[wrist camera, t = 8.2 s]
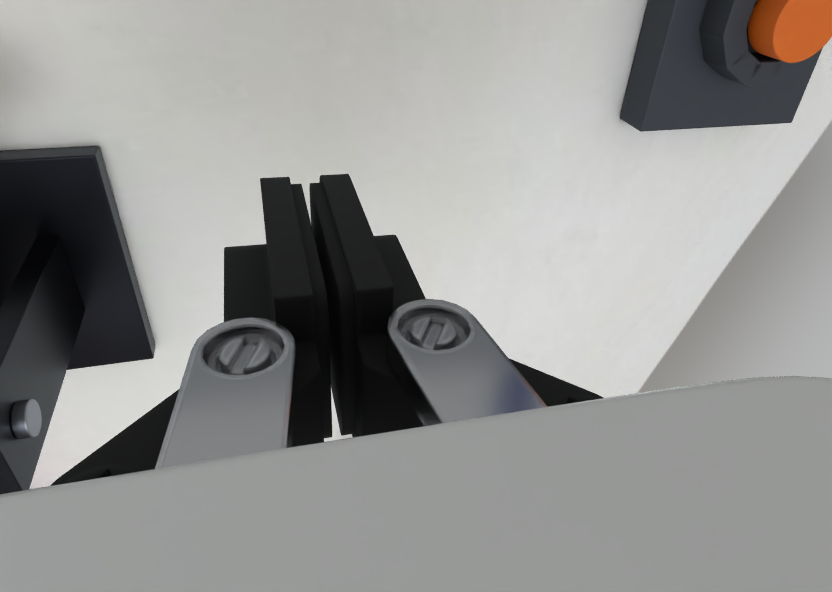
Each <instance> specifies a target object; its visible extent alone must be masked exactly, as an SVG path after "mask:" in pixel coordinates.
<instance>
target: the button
mask: <svg viewBox="0 0 832 592" xmlns="http://www.w3.org/2000/svg"><path fill="white" fill-rule="evenodd" d="M831 37H832V0H758V1H757V2H756V4H755V6H754V8H753V11H752V14H751V16H750V19H749V23H748V40H749V42H750V45H751V46H752V48H753V49H754V50H755V51H756V52H758V53H760V54H763V55H766V56H769V57H771V58H774V59H777V60H780V61H783V62H787V63H796V62H800V61H803V60H806V59H808V58H809V57H811V56H813V55H814V54H816V53H817V52H818V51H819V50H820V49H821V48H822V47H823V46H824V45H825V44H826V43H827V42H828V41H829V40H830V38H831Z"/></svg>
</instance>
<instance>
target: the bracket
mask: <svg viewBox="0 0 832 592" xmlns="http://www.w3.org/2000/svg"><path fill="white" fill-rule="evenodd" d="M154 351H155V342H154V339H153V335H152V332H151V328H150V325H149V321H148V317H147V314H146V310H145V307H144V303H143V300H142V296H141V293H140V289H139V285H138V282H137V278H136V275H135V271H134V268H133V264H132V261H131V257H130V253H129V250H128V246H127V243H126V239H125V236H124V232H123V228H122V225H121V221H120V218H119V214H118V211H117V207H116V204H115V200H114V196H113V193H112V189H111V186H110V182H109V179H108V175H107V172H106V168H105V164H104V161H103V157H102V154H101V150H100V147H99V146H90V147H70V148H51V149H31V150H12V151H0V494H5V493H11V492H17V491H23V490H29V488H30V485H31V481H32V478H33V475H34V472H35V469H36V465H37V462H38V459H39V456H40V453H41V450H42V446H43V443H44V440H45V437H46V434H47V430H48V427H49V424H50V421H51V418H52V415H53V411H54V408H55V405H56V402H57V399H58V395H59V392H60V389H61V386H62V383H63V380H64V376H65V373H66V370H69V369H76V368H84V367H91V366H99V365H107V364H114V363H122V362H129V361H137V360H144V359H152V358H153V357H154Z"/></svg>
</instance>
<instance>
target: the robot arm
mask: <svg viewBox="0 0 832 592" xmlns="http://www.w3.org/2000/svg"><path fill="white" fill-rule="evenodd" d="M260 181H261V192H262V202H263V212H264V222H265V232H266V242H267V244H263V245H250V246H236V247H225V248H224V323H220V324H218V325H216V326H215V327H213V328H211V329H209V330H207V331H206V332H205V333H204V334H203V335H202V336H200V337H199V338H198V339H197V341H196V343H195V344H194V346H193V348H192V350H191V353H190V357H189V360H188V363H187V366H186V370H185V373H184V376H183V379H182V383H181V386H180V389H179V390H177V391H176V392H175V393H173V394H172V395H171V396H169V397H168V398H166V399H165V400H164V401H162V402H161V403H160V404H158V405H157V406H156V407H154V408H153V409H152V410H150V411H149V412H148V413H146V414H145V415H143V416H142V417H141V418H139V419H138V420H137V421H135V422H134V423H133V424H131V425H130V426H129V427H127V428H126V429H125V430H123V431H122V432H120V433H119V434H118V435H116V436H115V437H114V438H112V439H111V440H110V441H108V442H107V443H106V444H104V445H103V446H102V447H100V448H99V449H97V450H96V451H95V452H93V453H92V454H91V455H89V456H88V457H87V458H85V459H84V460H83V461H81V462H80V463H79V464H77V465H76V466H74V467H73V468H72V469H70V470H69V471H68V472H66V473H65V474H64V475H62V476H61V477H60V478H58V479H57V480H56V481H55V482H54V483H53V484H52V485H50V486H48V487H42V488H36V489H30V490H23V491H17V492H11V493H5V494H0V592H832V379H831V378H820V377H818V378H817V377H800V376H784V377H759V378H747V379H738V380H731V381H721V382H713V383H704V384H696V385H688V386H681V387H675V388H668V389H662V390H655V391H648V392H642V393H635V394H629V395H622V396H616V397H609V398H603V397H601V396H599V395H597V394H595V393H592V392H590V391H587V390H585V389H583V388H580V387H578V386H575V385H573V384H570V383H568V382H565V381H563V380H560V379H558V378H556V377H553V376H551V375H548V374H546V373H543V372H541V371H538V370H536V369H533V368H531V367H528V366H526V365H524V364H521V363H519V362H516V361H514V360H511V359H509V358H508V357H507V356H506V355H505V354H504V352H503V351H502V350H501V349H500V347H499V346H498V345H497V344H496V343H495V341H494V340H493V339H492V338H491V336H490V335H489V334H488V333H487V331H486V330H485V329H484V328H483V326H482V325H481V324H480V323H479V322H478V320H477V319H476V318H475V317H474V316H473V315H472V314H471V313H470V312H469V311H468V310H466V309H464V308H462V307H460V306H459V305H457V304H454V303H450V302H447V301H443V300H434V299H425V296H424V294H423V292H422V290H421V288H420V286H419V283H418V281H417V279H416V277H415V275H414V273H413V270H412V268H411V266H410V264H409V262H408V260H407V258H406V255H405V253H404V251H403V249H402V247H401V245H400V242H399V240H398V238H397V237H396V235H384V236H373V233H372V231H371V228H370V226H369V223H368V221H367V218H366V216H365V213H364V211H363V208H362V206H361V203H360V201H359V198H358V196H357V193H356V191H355V188H354V186H353V183H352V181H351V178H350V176H349V174H339V175H321V176H320V183H310V209H311V223H310V218H309V214H308V210H307V206H306V202H305V197H304V193H303V189H302V185H301V184H291V183H290V178H289V177H277V178H260ZM331 388H332V393H333V398H334V403H335V408H336V413H337V418H338V423H339V428H340V432H341V435H348V434H352V436H353V438H347V439H341V440H335V441H328V442H324V438H329V437H332V411H331Z"/></svg>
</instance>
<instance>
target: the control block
mask: <svg viewBox="0 0 832 592" xmlns="http://www.w3.org/2000/svg"><path fill="white" fill-rule="evenodd" d="M757 1H758V0H649V1H648V5H647V9H646V13H645V17H644V21H643V25H642V29H641V33H640V37H639V42H638V46H637V50H636V54H635V58H634V62H633V66H632V70H631V74H630V78H629V82H628V87H627V91H626V95H625V99H624V103H623V107H622V111H621V115H620V119H622V120H623V121H625V122H627V123H628V124H630V125H631V126H633V127H635V128H636V129H638V130H639V131H656V130H674V129H691V128H708V127H726V126H743V125H760V124H778V123H791V122H792V120H793V118H794V115H795V113H796V111H797V108H798V106H799V103H800V101H801V99H802V96H803V94H804V91H805V89H806V87H807V84H808V82H809V79H810V77H811V75H812V72H813V70H814V67H815V65H816V63H817V60H818V58H819V55H820V53H821V51H822V48H823V47H822V48H821V49H820V50H819V51H818V52H817V53H816V54H814V55H813V56H811V57H809V58H808V59H806V60H803V61H800V62H796V63H787V62H783V61H780V60H777V59H774V58H771V57H769V56H766V55H763V54H760V53H758V52H756V51H755V50H754V49H753V48H752V46H751V45H750V42H749V40H748V23H749V19H750V16H751V14H752V11H753V8H754V6H755V4H756V2H757Z"/></svg>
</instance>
